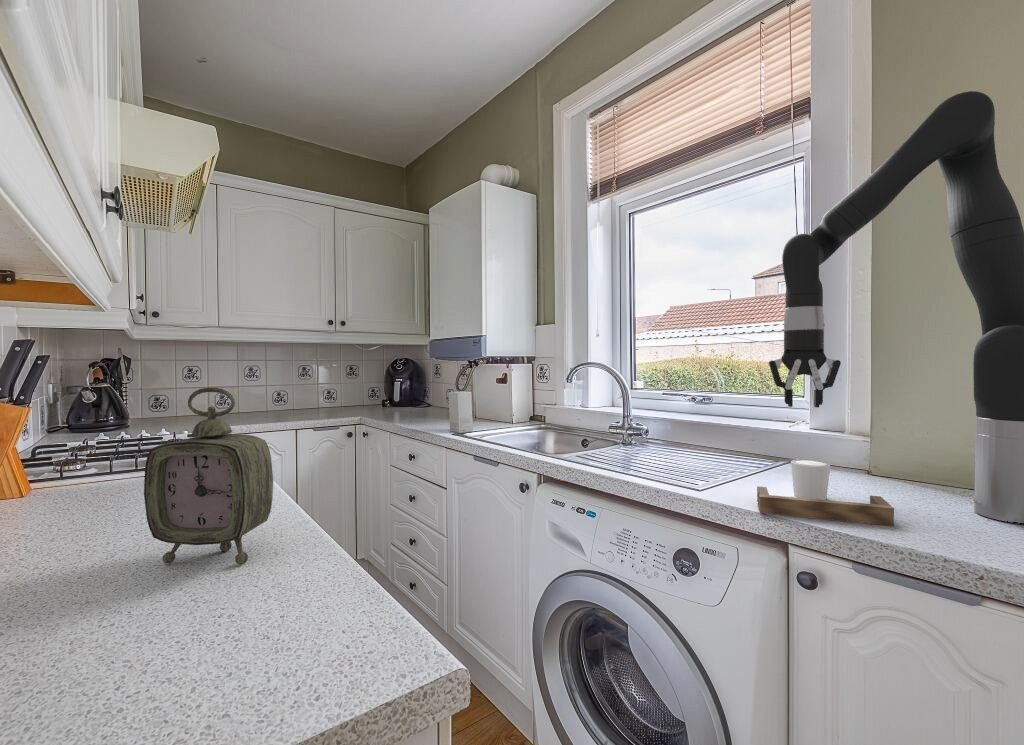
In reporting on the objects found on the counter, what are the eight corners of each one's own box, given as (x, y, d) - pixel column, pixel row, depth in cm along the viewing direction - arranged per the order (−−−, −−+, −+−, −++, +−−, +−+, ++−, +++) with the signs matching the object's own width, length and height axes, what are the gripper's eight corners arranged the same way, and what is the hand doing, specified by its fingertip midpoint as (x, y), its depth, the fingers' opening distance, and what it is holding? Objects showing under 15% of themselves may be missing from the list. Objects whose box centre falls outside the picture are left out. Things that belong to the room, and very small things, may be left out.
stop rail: (880, 512, 90) (880, 496, 90) (893, 526, 83) (894, 508, 83) (757, 501, 98) (757, 486, 97) (759, 512, 91) (759, 496, 90)
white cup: (836, 502, 96) (836, 466, 96) (797, 501, 98) (797, 465, 97) (821, 493, 103) (822, 459, 103) (785, 491, 104) (785, 458, 104)
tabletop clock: (146, 569, 69) (140, 390, 68) (191, 544, 78) (186, 386, 78) (247, 570, 69) (242, 389, 68) (281, 545, 78) (276, 385, 77)
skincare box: (473, 432, 192) (472, 391, 191) (457, 433, 188) (457, 392, 188) (463, 429, 199) (463, 390, 198) (448, 431, 196) (447, 391, 195)
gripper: (838, 328, 109) (837, 406, 110) (765, 330, 115) (765, 404, 115) (846, 326, 102) (845, 409, 103) (768, 328, 108) (768, 407, 108)
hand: (803, 406), depth 109 cm, fingers open, 4 cm apart
